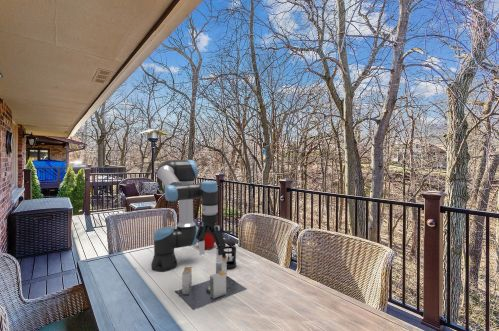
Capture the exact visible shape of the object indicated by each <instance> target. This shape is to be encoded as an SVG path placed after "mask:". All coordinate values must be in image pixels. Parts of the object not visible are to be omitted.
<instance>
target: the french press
mask: <svg viewBox="0 0 499 331" xmlns="http://www.w3.org/2000/svg"><path fill="white" fill-rule="evenodd" d="M224 232H225V233H227V235H228V238H224V241H225V245H226V247H223V248H222V258H227V271H230V270H234V269H236V268H237V260H236V259H237V253H236V252H237V247H236V242H237V239H234V238H230V233H233V231H232V230H231V229H228V230H227V229H226V230H225V231H224ZM226 249H227V250H228V251H226ZM230 249H231V251H230Z"/></svg>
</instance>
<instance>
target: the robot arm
mask: <svg viewBox="0 0 499 331" xmlns="http://www.w3.org/2000/svg"><path fill="white" fill-rule="evenodd" d="M198 174H199V171H198V167H197V163H196V161H195V160H193V159H169V160H165V161H163V162H162V163H160V164H159V165H158V167H157V169H156V176H157V178H158V179H159V180H160V181H161V182H162V183H163V186H164V198H165V200H166V201H167V202H177V201H178V217H179V218H178V219H179V220H178V221H179V222H178V223H177V224H176V228H175V227H174V226H163V227H160V228H158V229H156V230H155V231H154V233H153V258H152V261H151V265H150V266H151V270H152V271H154V272H168V271H172V270H174V269H176V268H177V267H178V260H177V259H178V258H177V256H176V255H175V249H179V248H184V247H192V246H196V245H197V244H198V255H199V256H201V255H204V254H206V253H205V252H206V249H205V243H204V238H205V236H206V234H207V233H209V234H211V236H212V237H213V239H214V241H215V243H214V244H215V245H216V248H215V250H216V252H215V254H216V255H215V256H216V257H215V260H216V263H218V262H221V261H222V248H223V247H226V246H227V244H225V241H224V239H225V238H224V235H223V233H222V226H221V225H217V222H218V219H219V216H218V215H219V214H218V213H219V210H218V207H219V206H218V190H219V189H218V182H217V181H216V180H204V181H202V182H198V183H195V182H196V179H197V178H198V176H199V175H198ZM199 199H201V221H199V223H198V224H199V225H198V226H197V224H196V222H195V221H194V200H199ZM214 232H215V233H214ZM198 241H199V243H198Z"/></svg>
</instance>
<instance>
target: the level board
mask: <svg viewBox="0 0 499 331" xmlns="http://www.w3.org/2000/svg"><path fill="white" fill-rule="evenodd" d="M246 290H248V288H246V287H245V286H243V285H242V284H241V283H239V282H237V281H236V280H234V279H233V278H231V277H230V276H228V275H227V277H226V294H225V295H223V296H220V297H217V298H215V299H213V298H212V297H211V296H210V279H209V280H206V281H203V282H200V283H196V284H194V285H193V284H192V288H191V290H190V293H189V294H182V289H178V290H174V293H175V294H176V295H177V296H178V297H179V298H180V299H181V300H182V301H184V303H185V304H186V305H187V306H189V307H190V309H191V310H192V311H195V310H197V309H200V308H203V307H205V306H208V305H210V304H212V303H216V302H218V301H221V300H224V299H225V298H228V297H231V296H233V295H236V294H238V293H241V292H244V291H246ZM189 307H188V308H189Z"/></svg>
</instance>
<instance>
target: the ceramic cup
mask: <svg viewBox="0 0 499 331" xmlns="http://www.w3.org/2000/svg"><path fill="white" fill-rule="evenodd" d="M214 233H215V232H214ZM204 243H205V250H208V249H209V250H210V249H212V248H213V246H214V245H215V244H216V243H215V241H214V239H213V237H212V236H211V234H209V233H207V234H206V236H205V238H204ZM197 244H199V241H198V242H197Z"/></svg>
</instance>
